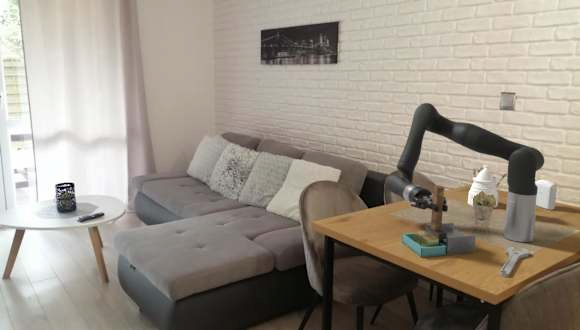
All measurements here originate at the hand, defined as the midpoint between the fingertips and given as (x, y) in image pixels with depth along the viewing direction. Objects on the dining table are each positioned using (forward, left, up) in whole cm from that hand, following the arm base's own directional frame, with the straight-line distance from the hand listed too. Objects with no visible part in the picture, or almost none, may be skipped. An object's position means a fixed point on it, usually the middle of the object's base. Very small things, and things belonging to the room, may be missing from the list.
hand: (442, 209), depth 147 cm
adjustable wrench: (-21, +3, -15) cm, 26 cm away
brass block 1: (+4, -4, -12) cm, 13 cm away
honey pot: (-19, -67, -15) cm, 71 cm away
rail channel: (-3, -5, -14) cm, 16 cm away
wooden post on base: (+1, -3, -10) cm, 10 cm away
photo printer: (-45, -71, -15) cm, 86 cm away
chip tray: (+5, 0, -14) cm, 15 cm away
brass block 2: (+1, 0, -12) cm, 12 cm away
